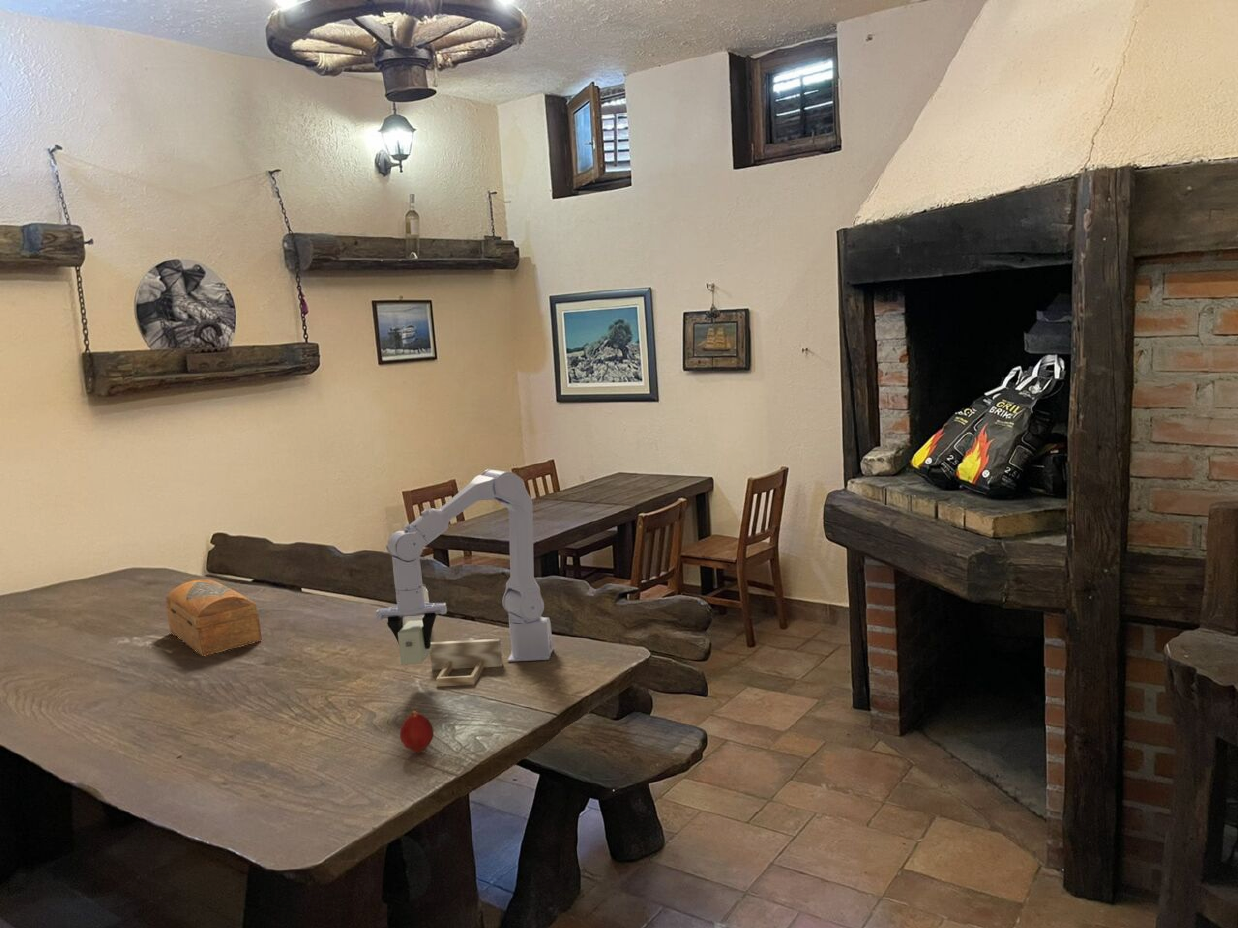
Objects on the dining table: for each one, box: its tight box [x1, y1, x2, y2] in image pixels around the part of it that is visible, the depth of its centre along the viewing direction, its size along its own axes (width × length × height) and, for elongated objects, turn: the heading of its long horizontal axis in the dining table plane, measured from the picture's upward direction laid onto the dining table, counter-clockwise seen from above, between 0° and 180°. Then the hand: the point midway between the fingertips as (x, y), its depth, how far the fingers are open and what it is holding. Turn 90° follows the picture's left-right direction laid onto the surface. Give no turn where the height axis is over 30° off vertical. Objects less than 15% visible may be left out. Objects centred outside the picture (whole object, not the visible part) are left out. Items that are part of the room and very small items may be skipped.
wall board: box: [429, 638, 503, 687], centre depth 199 cm, size 16×12×6 cm
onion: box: [399, 710, 434, 754], centre depth 162 cm, size 6×6×8 cm
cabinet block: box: [398, 620, 432, 666], centre depth 193 cm, size 4×8×7 cm, turn 177°
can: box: [404, 583, 430, 625], centre depth 232 cm, size 6×6×12 cm
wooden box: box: [166, 578, 263, 656], centre depth 240 cm, size 30×16×14 cm, turn 39°
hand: (415, 648), depth 193 cm, fingers closed on cabinet block, 5 cm apart
